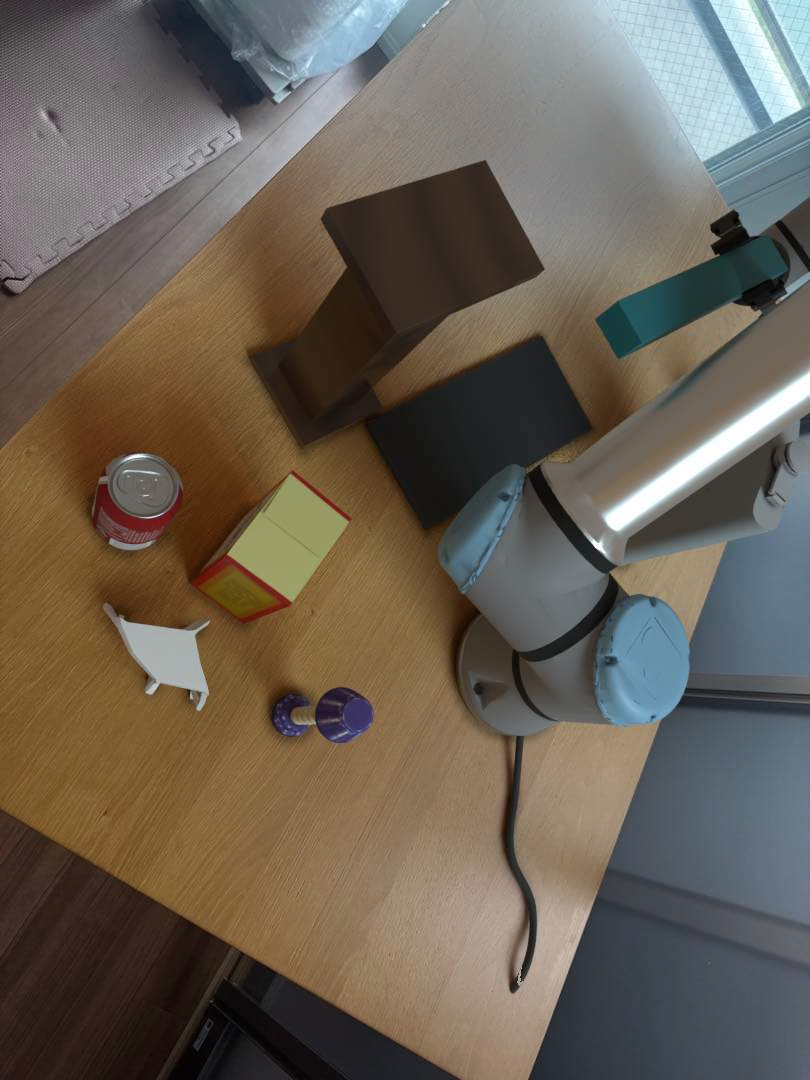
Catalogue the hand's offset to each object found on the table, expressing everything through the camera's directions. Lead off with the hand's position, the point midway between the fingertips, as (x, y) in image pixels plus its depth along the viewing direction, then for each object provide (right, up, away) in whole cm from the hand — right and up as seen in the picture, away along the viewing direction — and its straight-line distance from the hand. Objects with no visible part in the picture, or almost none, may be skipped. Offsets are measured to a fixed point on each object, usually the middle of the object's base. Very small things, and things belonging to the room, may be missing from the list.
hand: (745, 267), depth 65 cm
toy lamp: (-42, -42, +8) cm, 60 cm away
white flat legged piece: (-54, -35, +3) cm, 64 cm away
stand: (-40, -7, +16) cm, 44 cm away
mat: (-20, -10, +25) cm, 34 cm away
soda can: (-57, -22, +5) cm, 61 cm away
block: (-5, -3, +2) cm, 6 cm away
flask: (0, -20, +33) cm, 39 cm away
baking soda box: (-47, -27, +9) cm, 55 cm away
